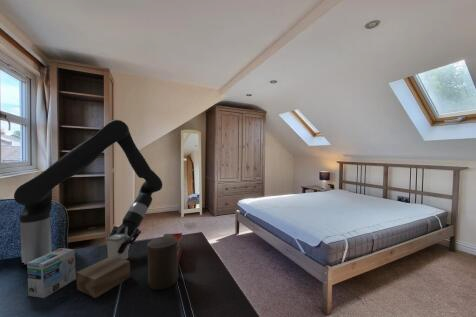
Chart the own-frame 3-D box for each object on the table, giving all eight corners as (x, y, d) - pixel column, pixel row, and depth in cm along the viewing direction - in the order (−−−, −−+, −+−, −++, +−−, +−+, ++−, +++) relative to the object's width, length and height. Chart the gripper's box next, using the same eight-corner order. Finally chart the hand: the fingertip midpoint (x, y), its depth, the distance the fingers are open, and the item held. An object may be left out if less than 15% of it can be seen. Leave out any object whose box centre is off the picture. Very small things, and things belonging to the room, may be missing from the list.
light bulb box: (44, 299, 64) (42, 264, 64) (27, 296, 66) (25, 262, 66) (77, 278, 75) (75, 248, 75) (61, 276, 76) (60, 247, 76)
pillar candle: (166, 292, 66) (165, 245, 66) (141, 287, 69) (140, 242, 69) (183, 275, 75) (182, 234, 75) (160, 271, 78) (159, 231, 78)
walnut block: (77, 290, 69) (76, 272, 68) (112, 271, 79) (112, 255, 79) (95, 298, 64) (94, 279, 64) (130, 277, 75) (129, 261, 75)
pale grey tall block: (107, 262, 86) (106, 238, 86) (118, 256, 91) (117, 233, 91) (117, 264, 84) (116, 239, 84) (128, 257, 89) (127, 234, 89)
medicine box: (164, 250, 95) (164, 233, 95) (183, 249, 96) (182, 232, 96) (156, 269, 80) (155, 248, 80) (177, 267, 81) (177, 246, 81)
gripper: (118, 209, 96) (94, 246, 85) (143, 211, 92) (121, 250, 81) (128, 217, 102) (106, 253, 90) (152, 219, 97) (133, 257, 86)
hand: (114, 251), depth 86 cm, fingers closed on pale grey tall block, 5 cm apart
